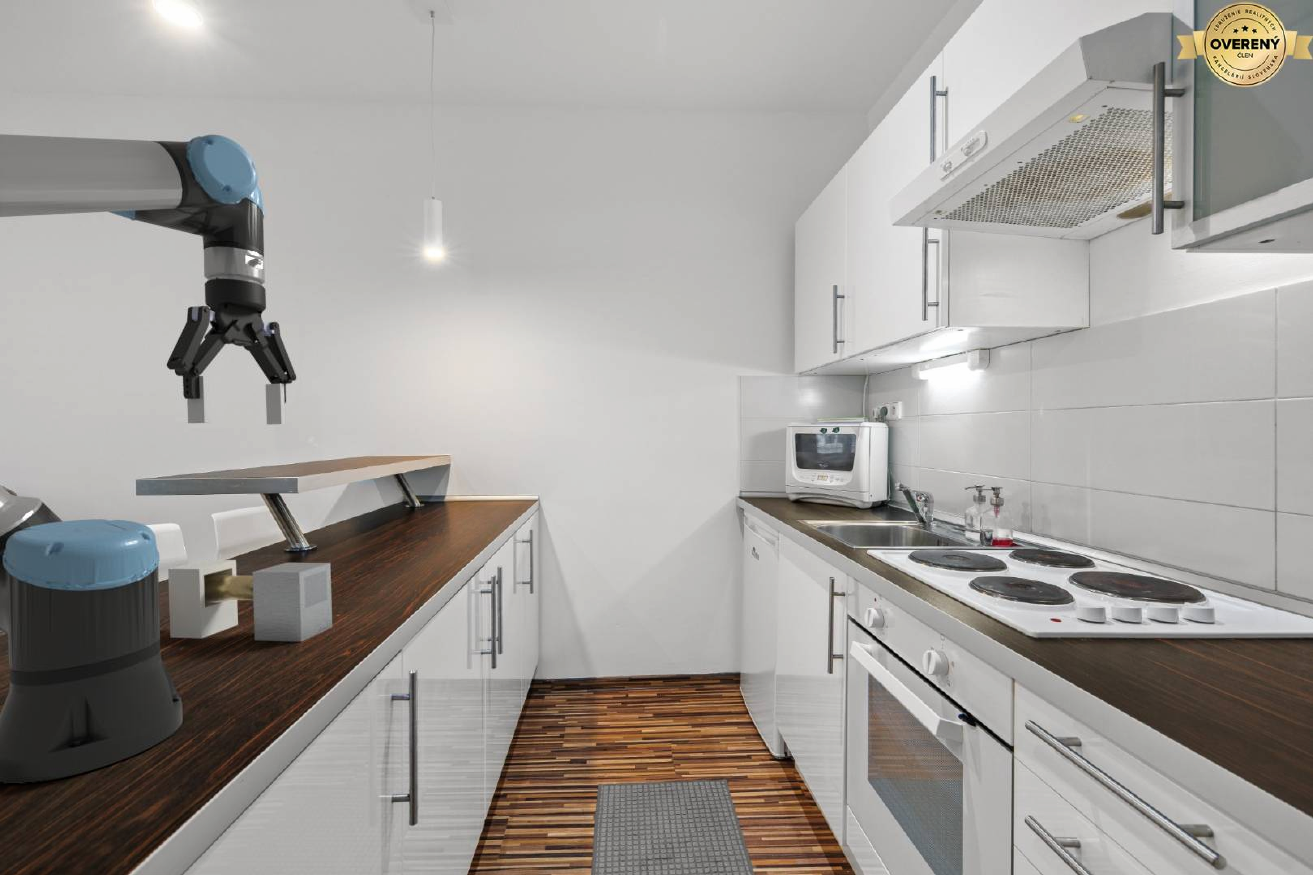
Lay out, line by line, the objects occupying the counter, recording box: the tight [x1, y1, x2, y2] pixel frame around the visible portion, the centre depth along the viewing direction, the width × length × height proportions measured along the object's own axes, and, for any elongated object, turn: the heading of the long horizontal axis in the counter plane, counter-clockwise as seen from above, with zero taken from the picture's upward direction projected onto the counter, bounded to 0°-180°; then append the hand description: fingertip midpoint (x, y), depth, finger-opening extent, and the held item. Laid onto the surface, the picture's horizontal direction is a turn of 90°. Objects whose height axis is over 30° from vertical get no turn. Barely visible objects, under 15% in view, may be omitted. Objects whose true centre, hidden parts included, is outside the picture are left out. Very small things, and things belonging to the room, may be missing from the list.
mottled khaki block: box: [204, 574, 254, 601], centre depth 101 cm, size 14×4×4 cm, turn 80°
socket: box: [167, 559, 239, 639], centre depth 102 cm, size 6×7×11 cm
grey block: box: [252, 562, 333, 643], centre depth 99 cm, size 8×7×11 cm
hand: (240, 424), depth 90 cm, fingers open, 13 cm apart
